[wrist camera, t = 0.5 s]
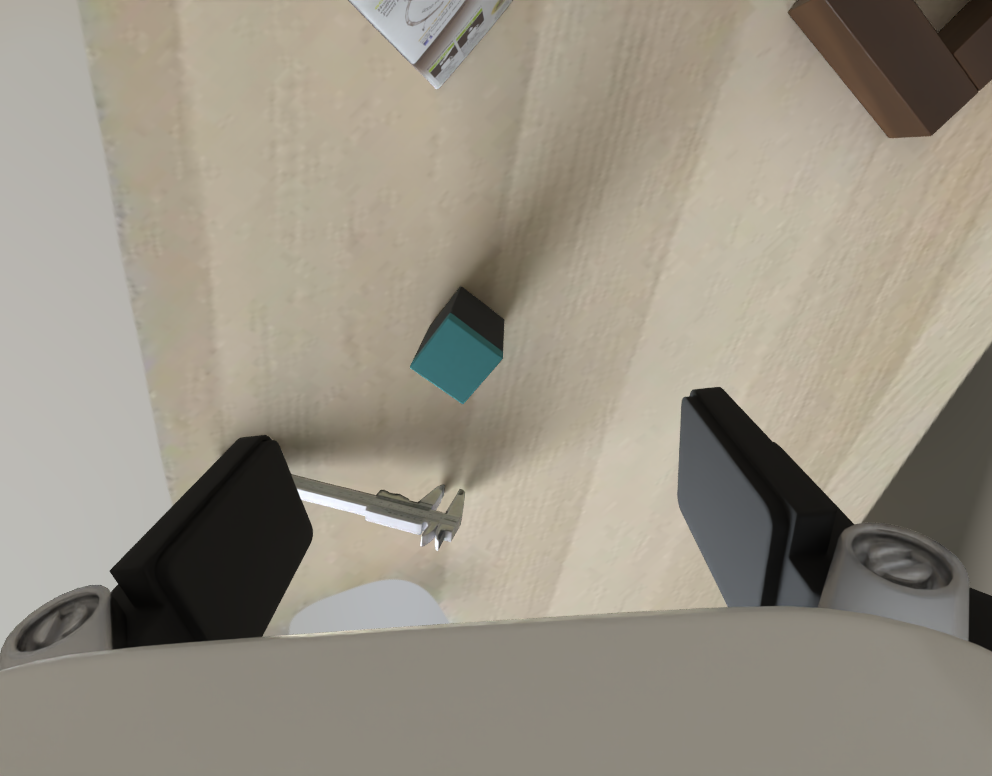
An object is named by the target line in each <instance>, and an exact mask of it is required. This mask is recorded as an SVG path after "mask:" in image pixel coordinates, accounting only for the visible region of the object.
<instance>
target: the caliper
mask: <svg viewBox="0 0 992 776" xmlns="http://www.w3.org/2000/svg"><path fill="white" fill-rule="evenodd" d="M291 475H292V474H291ZM292 478H293V480H294V483H295V485H296V488H297V490H298V493H299V495H300V498H301V500H305V501H308V502H312V503H316V504H320V505H324V506H328V507H332V508H336V509H340V510H344V511H348V512H352V513H355V514H359V515H363V516H365V520H366V521H370V522H373V523H377V524H381V525H384V526H388V527H392V528H396V529H399V530H403V531H407V532H410V533H414V534H418V535H421V534H422V531H424V532H423V534H422V536H421V547H422V546H425V545H426V544H428V543H429V542H431V541H432V540H433V539H434V537H435V548H436V550H437V551H438V550H439V548H440V546H441V544H442V542H443V540H445V541H449V542H451V541H452V539H453V537H454V536H455V534H456V532H457V530H458V529H459V527H460V525H461V520H462V513H463V506H464V498H465V492H464V491H463V490H462V489H459V491H458V493H457V495H456V496H455V498H454V500H453V501H452V503H451V505H450V506H449V508H448V509H447V511H446V513H442V512H439V511H436V509H437V507H438V506H439V504H440V503H441V499H442V498H443V496H444V487H445V485H440V486H437V487H436V488H435V489H434V490H432V491H431V492H430V493H429V494H427V495H426V496H425V497H424V498H422V499H421V500H420V501H419V502H418V503H417V502H413V501H409V499H408V498H406V497H404V496H402V495H400V494H393V493H389V492H388V491H385V490H380V491H379V492H378V493H377V495H372V494H368V493H364V492H360V491H356V490H352V489H348V488H344V487H340V486H336V485H332V484H328V483H324V482H320V481H316V480H312V479H308V478H304V477H300V476H296V475H292ZM435 535H436V536H435Z"/></svg>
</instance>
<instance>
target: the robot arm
mask: <svg viewBox="0 0 992 776" xmlns="http://www.w3.org/2000/svg"><path fill="white" fill-rule="evenodd" d="M677 495H678V503H679V507H680V510H681V512H682V514H683V516H684V518H685V520H686V522H687V524H688V527H689V529H690V531H691V533H692V535H693V537H694V539H695V541H696V543H697V545H698V547H699V549H700V551H701V553H702V555H703V557H704V559H705V561H706V563H707V565H708V567H709V569H710V571H711V573H712V575H713V577H714V579H715V581H716V583H717V585H718V588H719V590H720V592H721V594H722V596H723V598H724V600H725V602H726V604H727V606H728V607H721V608H695V609H679V610H661V611H640V612H623V613H607V614H591V615H575V616H559V617H543V618H527V619H512V620H496V621H481V622H466V623H451V624H437V625H422V626H408V627H393V628H378V629H366V630H365V629H364V630H351V631H336V632H322V633H309V634H295V635H282V636H268V637H262V636H263V634H264V632H265V630H266V628H267V626H268V624H269V622H270V621H271V619H272V617H273V615H274V613H275V611H276V609H277V607H278V605H279V603H280V601H281V599H282V597H283V596H284V594H285V592H286V590H287V588H288V586H289V584H290V582H291V580H292V578H293V576H294V574H295V572H296V571H297V569H298V567H299V565H300V563H301V561H302V559H303V557H304V555H305V553H306V551H307V549H308V547H309V546H310V544H311V541H312V537H313V529H312V525H311V523H310V520H309V518H308V515H307V513H306V510H305V508H304V505H303V503H302V500H301V498H300V495H299V493H298V490H297V488H296V485H295V483H294V480H293V478H292V475H291V473H290V470H289V468H288V465H287V463H286V460H285V458H284V455H283V453H282V450H281V448H280V446H279V444H278V442H277V441H275V440H272V439H271V438H270V437H269V436H267V435H261V436H251V437H242V438H239V439H238V440H237V441H236V442H235V443H234V444H233V445H232V446H231V447H230V448H229V449H228V450H227V451H226V452H225V453H224V454H223V455H222V456H221V457H220V458H219V459H218V460H217V461H216V462H215V463H214V464H213V465H212V466H211V467H210V468H209V469H208V470H207V472H206V473H205V474H204V475H203V476H202V477H201V478H200V479H199V480H198V481H197V482H196V483H195V484H194V485H193V486H192V487H191V488H190V489H189V490H188V491H187V492H186V493H185V494H184V495H183V496H182V497H181V498H180V499H179V500H178V501H177V502H176V503H175V504H174V505H173V506H172V507H171V509H170V510H169V511H168V512H166V514H165V515H164V516H163V517H162V518H161V519H160V520H159V521H158V522H157V523H156V524H155V525H154V526H153V527H152V528H151V529H150V530H149V531H148V532H147V533H146V534H145V535H144V536H143V537H142V538H141V539H140V540H139V541H138V542H137V543H136V544H135V545H134V546H133V547H132V548H131V549H130V551H128V552H127V553H126V554H125V555H124V557H123V558H122V559H121V560H120V561H119V562H118V563H117V564H116V565H115V566H114V567H113V568H112V569H111V570H110V573H111V574H112V575H113V577H114V578H115V580H116V581H117V583H118V585H117V586H116V587H115V588H114V589H113V590H112V592H110V591H109V589H108V588H106V587H104V586H102V585H89V586H85V587H81V588H77V589H74V590H72V591H69V592H67V593H64V594H62V595H60V596H58V597H56V598H54V599H53V600H51V601H49V602H47V603H46V604H44V605H42V606H41V607H40V608H38V609H37V610H36V611H34V612H32V613H31V614H30V615H28V616H27V617H26V618H25V619H24V620H23V621H22V622H21V623H19V624H18V625H17V626H16V627H15V629H14V630H13V631H12V632H11V633H10V634H9V636H8V637H7V638H6V641H5V643H4V645H3V647H2V649H1V653H0V776H992V596H990V595H988V594H985V593H983V592H980V591H977V590H975V589H972V588H969V578H968V574H967V571H966V568H965V567H964V566H963V564H962V563H961V562H960V560H959V559H958V558H957V557H956V556H955V555H954V554H952V553H951V552H950V551H949V550H948V549H946V548H945V547H944V546H942V545H941V544H940V543H938V542H936V541H934V540H932V539H930V538H929V537H927V536H925V535H923V534H920V533H918V532H915V531H912V530H910V529H907V528H904V527H900V526H895V525H891V524H885V523H872V522H868V523H861V524H853V523H852V522H851V520H850V519H849V518H848V517H847V516H846V515H845V514H844V513H843V512H842V511H841V510H840V509H839V508H838V507H837V506H836V505H835V504H834V503H833V502H832V501H831V499H830V498H829V497H828V496H827V495H826V494H825V493H824V492H823V491H822V490H821V489H820V488H819V487H818V486H817V485H816V484H815V483H814V482H813V481H812V479H811V478H810V477H809V476H808V475H807V474H806V473H805V472H804V471H803V470H802V469H801V468H800V467H799V466H798V465H797V464H796V463H795V462H794V461H793V460H792V458H791V457H790V456H789V455H788V454H787V453H786V452H785V451H784V450H783V449H782V448H781V447H780V446H779V445H778V444H776V443H775V442H772V441H771V440H770V439H769V438H768V437H767V435H766V434H765V433H764V432H763V431H762V430H761V429H760V428H759V427H758V426H757V425H756V424H755V423H754V422H753V421H752V419H751V418H750V417H749V416H748V415H747V414H746V413H745V412H744V411H743V410H742V409H741V408H740V407H739V406H738V405H737V404H736V402H735V401H734V400H733V399H732V398H731V397H730V396H729V395H728V394H727V393H726V392H725V391H724V390H723V389H722V388H721V387H714V388H705V389H695V390H692V391H691V393H690V397H684V398H683V399H682V405H681V426H680V448H679V470H678V492H677Z"/></svg>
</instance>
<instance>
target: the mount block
mask: <svg viewBox="0 0 992 776" xmlns="http://www.w3.org/2000/svg"><path fill="white" fill-rule="evenodd" d="M788 14H789V15H790V16H791V17H792V19H793V20H794V21H795V22H796V24H797V25H798V26H799V27H800V28H801V30H802V31H803V32H804V33H805V35H806V36H807V37H808V38H809V40H810V41H811V42H812V43H813V45H814V46H815V47H816V48H817V49H818V51H819V52H820V53H821V54H822V56H823V57H824V58H825V59H826V61H827V62H828V63H829V64H830V66H831V67H832V68H833V69H834V70H835V72H836V73H837V74H838V75H839V77H840V78H841V79H842V80H843V82H844V83H845V84H846V85H847V87H848V88H849V89H850V90H851V91H852V93H853V94H854V95H855V96H856V98H857V99H858V100H859V101H860V103H861V104H862V105H863V106H864V108H865V109H866V110H867V111H868V112H869V114H870V115H871V116H872V117H873V119H874V120H875V121H876V122H877V124H878V125H879V126H880V127H881V129H882V130H883V131H884V132H885V133H886V135H887V136H888V137H889V138H903V137H921V136H931V135H933V134H934V133H935V132H936V131H937V130H938V129H939V128H940V127H941V126H943V125H944V124H945V123H946V122H947V121H948V120H949V119H950V118H951V117H952V116H953V115H954V114H955V113H956V112H958V111H959V110H960V109H961V108H962V107H963V106H964V105H965V104H966V103H967V102H968V101H969V100H970V99H972V98H973V97H974V96H975V95H976V94H977V93H978V91H979V90H981V89H982V88H983V87H984V86H985V85H986V84H987V83H988V82H990V81H991V80H992V0H971V1H970V2H969V3H968V4H967V5H966V6H965V7H964V8H963V9H962V10H961V11H960V12H959V13H958V14H957V15H956V16H955V17H954V18H953V19H952V20H951V21H950V22H949V23H948V24H947V25H946V26H945V27H944V28H943V29H942V30H941V31H940V32H939V33H938V34H937V32H936V31H935V30H934V28H933V27H932V25H931V24H930V23H929V21H928V20H927V18H926V17H925V16H924V14H923V13H922V11H921V10H920V9H919V7H918V6H917V4H916V3H915V2H914V0H797V2H796V3H795V4H794V5H793V6H792V7H791V9H790V10H789V11H788Z"/></svg>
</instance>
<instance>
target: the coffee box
mask: <svg viewBox="0 0 992 776" xmlns="http://www.w3.org/2000/svg"><path fill="white" fill-rule="evenodd" d="M348 1H349V2H350V3H351V4H352V5H353V6H354V7H355V8H356V9H357V10H358V11H359V12H360V13H361V14H362V15H363V16H364V17H365V18H366V19H367V20H368V21H369V22H370V23H371V24H372V25H373V26H374V27H375V28H376V29H377V30H378V31H379V32H380V33H381V34H382V35H383V36H384V37H385V38H386V39H387V40H388V41H389V42H390V43H391V44H392V45H393V46H394V47H395V48H396V49H397V50H398V51H399V52H400V54H401V55H403V56H404V57H405V58H406V59H407V60H408V61H409V62H410V63H411V64H412V65H413V67H414V68H415V69H417V70H418V71H419V72H420V73H421V74H422V75H423V76H424V77H425V78H426V79H427V80H428V81H429V82H430V83H431V84H432V85H433V86H434V88H436V89H438V88H440V87H441V86H442V85H443V83H444V82H445V81H446V80H447V79H448V78H449V76H450V75H451V74H452V73H453V72H454V71H455V69H456V68H457V67H458V66H459V65H460V64H461V62H462V61H463V60H464V59H465V58H466V57H467V55H468V54H469V53H470V52H471V51H472V50H473V48H474V47H475V46H476V45H477V44H478V42H479V41H480V40H481V39H482V38H483V37H484V35H485V34H486V33H487V32H488V31H489V30H490V28H491V27H492V26H493V25H494V24H495V22H496V21H497V20H498V19H499V17H500V16H501V15H502V14H503V12H504V11H505V10H506V9H507V7H508V6H509V5H510V4H511V2H512V1H513V0H348Z"/></svg>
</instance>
